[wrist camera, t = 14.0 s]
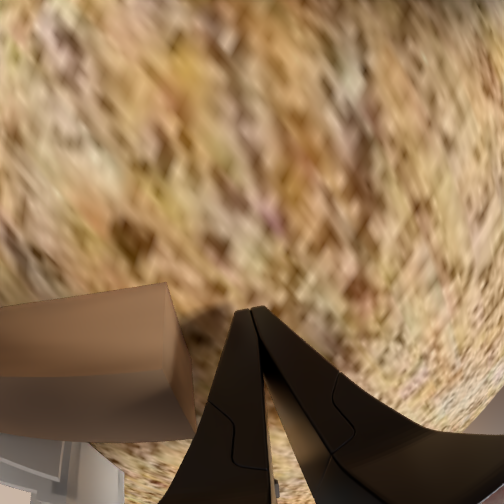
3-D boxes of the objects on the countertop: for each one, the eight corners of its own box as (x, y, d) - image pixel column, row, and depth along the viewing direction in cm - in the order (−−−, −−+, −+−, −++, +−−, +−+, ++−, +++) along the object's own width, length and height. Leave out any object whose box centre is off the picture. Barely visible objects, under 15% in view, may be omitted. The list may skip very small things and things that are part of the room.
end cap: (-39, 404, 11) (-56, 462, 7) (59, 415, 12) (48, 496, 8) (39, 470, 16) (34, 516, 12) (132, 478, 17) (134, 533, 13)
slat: (190, 354, 11) (197, 437, 8) (-45, 365, 9) (-66, 415, 6) (166, 276, 9) (162, 369, 6) (-80, 313, 8) (-110, 363, 5)
